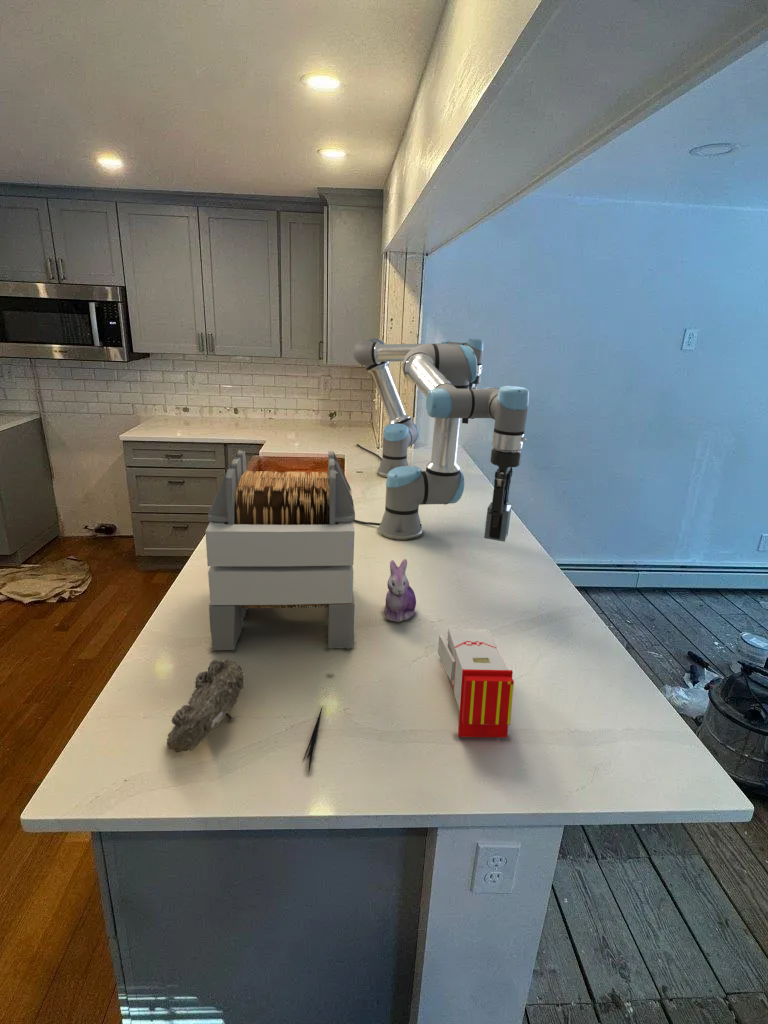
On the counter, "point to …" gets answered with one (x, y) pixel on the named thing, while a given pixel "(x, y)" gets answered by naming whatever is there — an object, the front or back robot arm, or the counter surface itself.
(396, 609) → the figurine
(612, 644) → the counter surface
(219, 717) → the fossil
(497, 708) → the toy
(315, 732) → the feather
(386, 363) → the back robot arm
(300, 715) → the counter surface
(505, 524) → the brick
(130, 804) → the counter surface
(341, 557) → the transformer
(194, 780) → the counter surface
